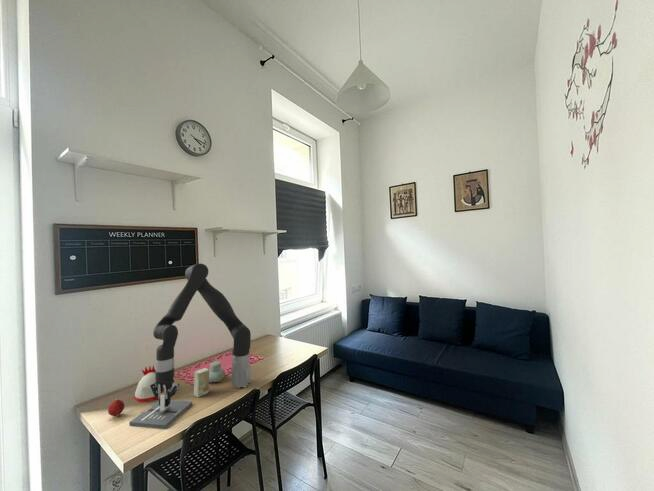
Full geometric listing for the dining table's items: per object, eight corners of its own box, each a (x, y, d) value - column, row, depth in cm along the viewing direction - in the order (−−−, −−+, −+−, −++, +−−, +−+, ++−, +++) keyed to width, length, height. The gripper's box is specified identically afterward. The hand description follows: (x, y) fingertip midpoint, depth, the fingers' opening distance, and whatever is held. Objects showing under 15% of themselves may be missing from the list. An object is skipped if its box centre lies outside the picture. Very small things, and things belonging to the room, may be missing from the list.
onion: (114, 412, 123) (114, 395, 123) (127, 412, 124) (127, 394, 124) (104, 420, 117) (105, 402, 117) (118, 420, 118) (118, 401, 118)
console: (192, 404, 130) (192, 401, 130) (165, 428, 112) (165, 425, 112) (160, 402, 132) (160, 398, 132) (129, 425, 114) (129, 421, 114)
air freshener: (215, 385, 149) (215, 367, 149) (202, 384, 150) (203, 366, 151) (227, 376, 159) (227, 360, 159) (214, 375, 161) (215, 358, 161)
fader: (170, 407, 124) (170, 389, 124) (162, 413, 119) (162, 394, 119) (166, 406, 124) (166, 388, 125) (158, 413, 119) (158, 394, 120)
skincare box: (198, 397, 136) (198, 373, 136) (193, 395, 138) (193, 371, 139) (209, 392, 141) (209, 369, 142) (204, 390, 144) (205, 367, 144)
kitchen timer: (138, 391, 143) (139, 362, 143) (168, 385, 148) (168, 358, 149) (131, 404, 130) (132, 373, 130) (163, 398, 135) (164, 368, 136)
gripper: (184, 365, 125) (183, 402, 125) (157, 363, 127) (157, 400, 126) (173, 372, 118) (172, 411, 117) (145, 370, 119) (144, 409, 119)
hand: (164, 405), depth 122 cm, fingers closed on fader, 2 cm apart
